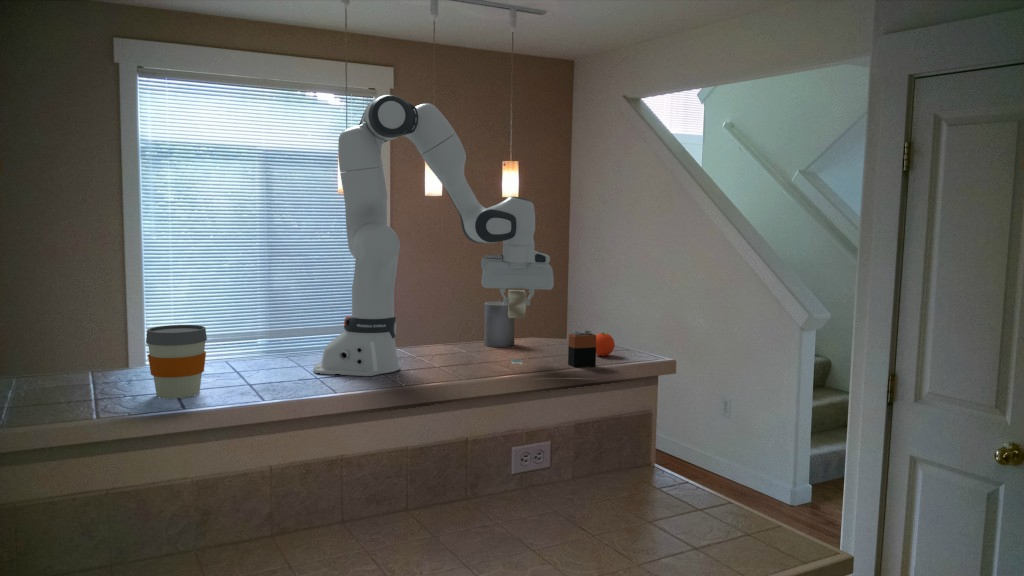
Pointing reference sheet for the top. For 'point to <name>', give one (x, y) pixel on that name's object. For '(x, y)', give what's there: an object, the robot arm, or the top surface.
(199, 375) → the reusable coffee cup
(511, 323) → the pillar candle
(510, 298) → the block
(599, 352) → the clementine
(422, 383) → the top surface
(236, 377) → the top surface
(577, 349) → the battery
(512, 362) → the board
